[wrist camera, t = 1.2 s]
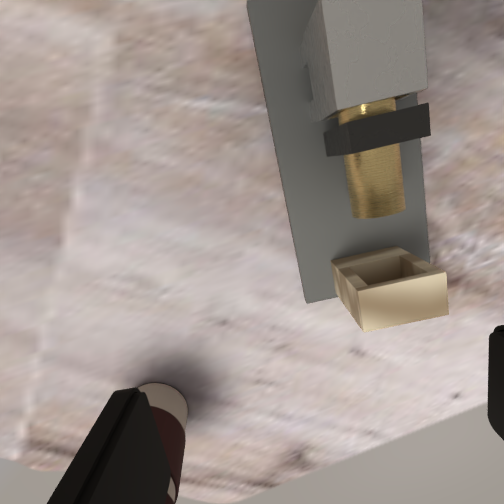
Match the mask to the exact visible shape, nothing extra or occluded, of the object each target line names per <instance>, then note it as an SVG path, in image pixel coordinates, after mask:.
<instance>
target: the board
mask: <svg viewBox="0 0 504 504" xmlns="http://www.w3.org/2000/svg"><path fill="white" fill-rule="evenodd" d="M317 2H318V0H247V10H248V15H249V20H250V26H251V31H252V36H253V41H254V46H255V51H256V56H257V61H258V66H259V71H260V76H261V81H262V86H263V91H264V96H265V101H266V106H267V111H268V116H269V121H270V126H271V131H272V136H273V141H274V146H275V151H276V156H277V161H278V166H279V171H280V176H281V181H282V186H283V191H284V196H285V201H286V206H287V211H288V216H289V221H290V226H291V231H292V237H293V242H294V247H295V252H296V257H297V262H298V267H299V272H300V277H301V282H302V287H303V292H304V297H305V301H306V303H307V304H308V303H313V302H317V301H322V300H326V299H331V298H336V297H338V295H337V294H336V291H335V285H334V279H333V273H332V267H331V260H335V259H340V258H344V257H349V256H353V255H358V254H362V253H367V252H371V251H376V250H380V249H385V248H389V247H394V246H398V247H400V248H402V249H403V250H405V251H407V252H409V253H411V254H413V255H415V256H417V257H419V258H420V259H422V260H424V261H426V262H428V263H430V256H429V244H428V231H427V218H426V205H425V192H424V179H423V167H422V154H421V141H420V138H418V139H414V140H410V141H405V142H401V143H399V145H400V155H401V166H402V176H403V187H404V197H405V208H406V209H405V210H404V211H402V212H400V213H397V214H393V215H389V216H385V217H379V218H369V219H358V218H354V217H352V212H351V205H350V198H349V191H348V184H347V177H346V170H345V163H344V156H343V155H340V156H331V157H327V155H326V149H325V143H324V136H323V133H324V132H326V131H328V130H331V129H333V128H335V127H337V126H339V122H338V118H334V119H329V120H325V121H321V122H317V121H316V122H311V116H310V110H309V103H310V102H311V101H312V100H313V93H312V87H311V81H310V75H309V68H304V69H303V67H302V61H301V55H300V49H299V48H300V45H301V43H302V41H303V39H304V37H303V34H304V32H305V29H306V27H307V25H308V22H309V20H310V18H311V15H312V13H313V11H314V8H315V6H316V4H317ZM395 103H396V110H400V109H404V108H408V107H412V106H417V105H418V103H417V93H415V94H413V95H411V96H408V97H406V98H404V99H401V100H399V101H397V102H395Z"/></svg>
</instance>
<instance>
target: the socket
mask: <svg viewBox="0 0 504 504" xmlns="http://www.w3.org/2000/svg"><path fill="white" fill-rule="evenodd" d="M331 267H332V273H333V279H334V285H335V291H336V294H337V295H338V297H339V298H340V300H341V301H342V302H343V304H344V305H345V307H346V308H347V309H348V311H349V312H350V314H351V315H352V317H353V318H354V319H355V321H356V322H357V324H358V325H359V326H360V328H361V329H362V331H363V332H369V331H374V330H378V329H383V328H388V327H393V326H397V325H402V324H407V323H411V322H416V321H421V320H426V319H430V318H435V317H440V316H445V315H449V310H448V294H447V278H446V272H445V271H443V270H441V269H439V268H437V267H436V266H434V265H432V264H430V263H428V262H426V261H424V260H422V259H420V258H419V257H417V256H415V255H413V254H411V253H409V252H407V251H405V250H403V249H402V248H400V247H398V246H394V247H389V248H385V249H380V250H376V251H371V252H367V253H362V254H358V255H353V256H349V257H344V258H340V259H335V260H331Z"/></svg>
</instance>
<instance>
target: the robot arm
mask: <svg viewBox="0 0 504 504" xmlns="http://www.w3.org/2000/svg"><path fill="white" fill-rule="evenodd" d="M488 419H489V422H490V424H491V426H492V427H493V429H494V430H495V432H496V433H497V434H498V435H499V436H500V437H501V438H502V439H503V440H504V325H500V326H497V327H496V328H495V329H494V332H493V333H491V334H490V336H489V366H488ZM170 478H171V470H170V465H169V462H168V459H167V456H166V453H165V450H164V447H163V443H162V440H161V437H160V434H159V431H158V428H157V425H156V422H155V419H154V416H153V413H152V410H151V407H150V404H149V401H148V398H147V395H146V393H145V392H140V390H139V389H138V388H136V387H135V388H129V389H123V390H117V391H115V392H114V393H113V394H112V395H111V397H110V399H109V400H108V402H107V404H106V405H105V407H104V409H103V410H102V412H101V414H100V415H99V417H98V419H97V420H96V422H95V424H94V425H93V427H92V429H91V430H90V432H89V434H88V435H87V437H86V439H85V441H84V442H83V444H82V446H81V447H80V449H79V451H78V452H77V454H76V456H75V457H74V459H73V461H72V462H71V464H70V466H69V467H68V469H67V471H66V472H65V474H64V476H63V477H62V479H61V481H60V482H59V484H58V486H57V488H56V489H55V491H54V492H53V494H52V496H51V497H50V499H49V501H48V502H47V504H165V500H166V496H167V492H168V488H169V484H170Z"/></svg>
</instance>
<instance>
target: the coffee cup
mask: <svg viewBox="0 0 504 504" xmlns="http://www.w3.org/2000/svg"><path fill="white" fill-rule="evenodd" d="M138 389H139V390H140V392H145V393H146V395H147V398H148V401H149V404H150V407H151V410H152V413H153V416H154V419H155V422H156V425H157V428H158V431H159V434H160V437H161V440H162V443H163V447H164V450H165V453H166V456H167V459H168V462H169V465H170V470H171V478H170V484H169V488H168V492H167V496H166V500H165V504H175V503H176V500H177V497H178V492H179V485H180V477H181V470H182V463H183V456H184V449H185V428H186V421H187V415H188V409H187V404H186V401H185V399H184V397H183V396H182V395H181V394H180V393H179V392H178V391H177V390H176V389H174V388H173V387H171V386H168V385H165V384H161V383H150V384H145V385H142V386H140V387H138Z"/></svg>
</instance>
